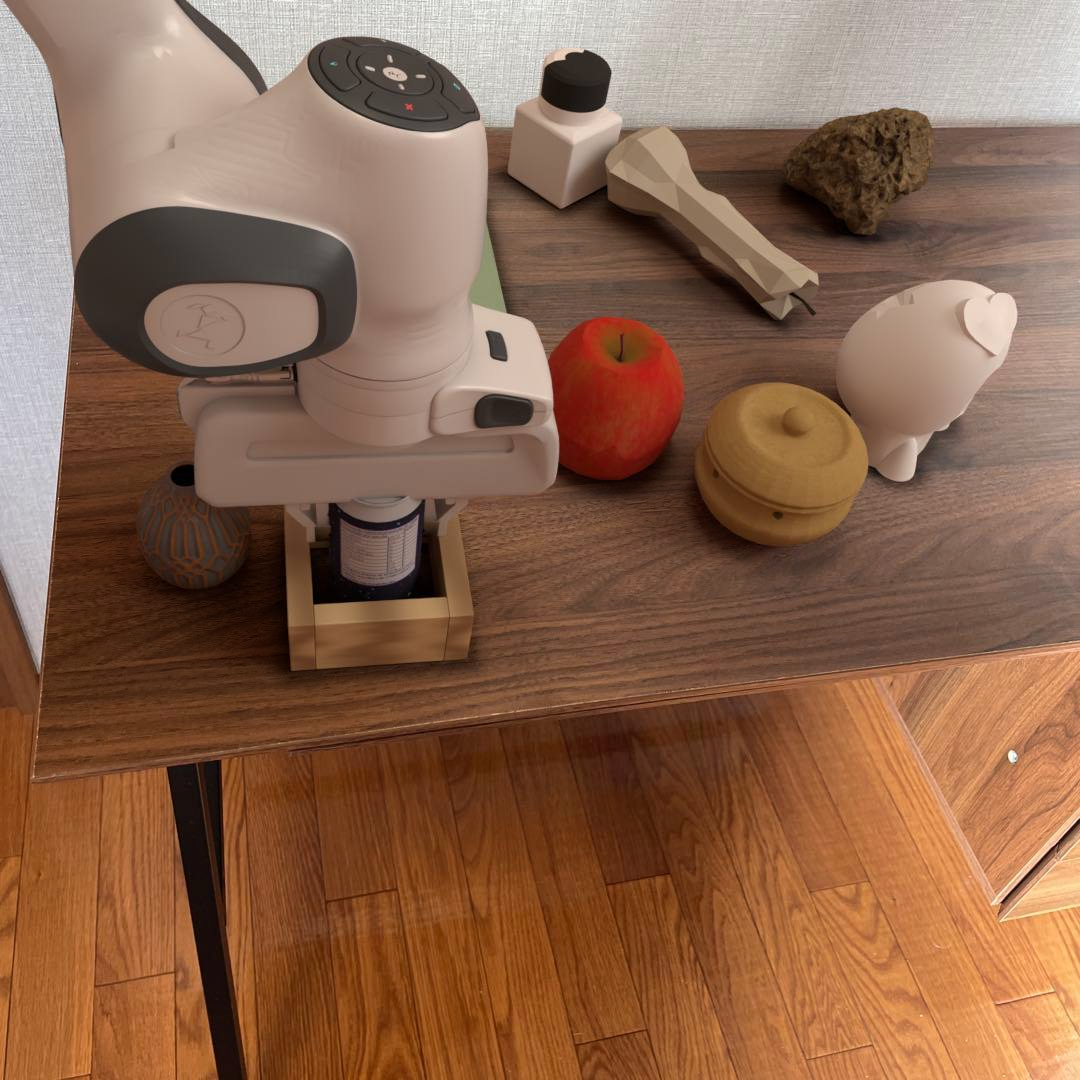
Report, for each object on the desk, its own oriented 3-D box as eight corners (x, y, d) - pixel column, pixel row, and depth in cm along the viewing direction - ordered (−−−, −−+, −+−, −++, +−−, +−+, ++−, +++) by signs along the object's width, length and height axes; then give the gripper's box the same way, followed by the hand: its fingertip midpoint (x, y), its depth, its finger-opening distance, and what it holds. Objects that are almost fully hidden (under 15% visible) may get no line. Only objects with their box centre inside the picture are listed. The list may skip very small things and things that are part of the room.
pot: (675, 549, 79) (711, 454, 71) (688, 435, 86) (723, 337, 78) (835, 585, 79) (889, 494, 71) (835, 467, 86) (884, 373, 79)
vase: (255, 603, 71) (246, 516, 64) (142, 609, 70) (120, 521, 63) (254, 520, 75) (246, 430, 68) (147, 524, 74) (128, 433, 67)
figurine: (790, 428, 88) (857, 278, 77) (847, 358, 95) (918, 209, 83) (916, 499, 85) (1006, 354, 74) (966, 421, 92) (1057, 276, 80)
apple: (673, 409, 88) (708, 304, 80) (660, 510, 81) (696, 406, 73) (541, 379, 88) (562, 271, 80) (516, 477, 81) (536, 370, 73)
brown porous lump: (778, 179, 112) (913, 93, 109) (843, 283, 109) (985, 198, 106) (763, 127, 102) (912, 30, 98) (836, 241, 98) (993, 144, 95)
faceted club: (648, 162, 108) (840, 316, 99) (582, 208, 105) (773, 369, 96) (653, 89, 100) (862, 249, 91) (582, 136, 97) (790, 305, 88)
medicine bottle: (610, 185, 106) (635, 66, 97) (560, 211, 102) (582, 90, 93) (555, 149, 108) (576, 30, 99) (505, 174, 105) (521, 52, 95)
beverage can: (433, 588, 74) (447, 467, 64) (381, 644, 70) (387, 526, 61) (365, 546, 75) (369, 422, 66) (311, 600, 72) (307, 477, 63)
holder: (290, 671, 68) (288, 626, 64) (285, 532, 75) (282, 484, 71) (466, 659, 71) (474, 615, 67) (446, 525, 77) (452, 478, 73)
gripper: (169, 411, 53) (198, 581, 64) (583, 403, 57) (545, 563, 68) (173, 323, 57) (200, 498, 67) (562, 321, 61) (529, 486, 72)
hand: (376, 530), depth 68 cm, fingers closed on beverage can, 5 cm apart
